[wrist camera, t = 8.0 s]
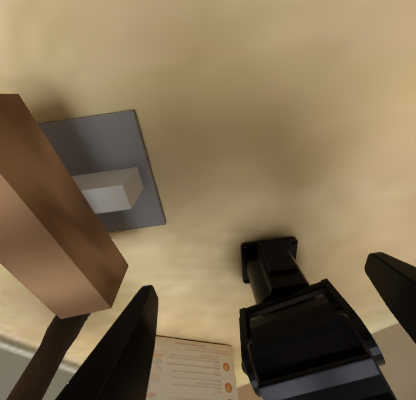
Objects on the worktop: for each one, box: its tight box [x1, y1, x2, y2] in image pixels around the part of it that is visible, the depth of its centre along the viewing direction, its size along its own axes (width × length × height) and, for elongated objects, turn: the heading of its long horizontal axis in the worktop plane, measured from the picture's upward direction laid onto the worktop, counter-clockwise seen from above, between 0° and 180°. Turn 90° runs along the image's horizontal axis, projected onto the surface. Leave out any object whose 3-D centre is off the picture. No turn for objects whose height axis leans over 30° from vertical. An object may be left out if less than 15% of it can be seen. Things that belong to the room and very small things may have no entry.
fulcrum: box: [38, 110, 166, 232], centre depth 16 cm, size 11×12×4 cm
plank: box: [0, 94, 128, 319], centre depth 13 cm, size 14×4×4 cm, turn 15°
